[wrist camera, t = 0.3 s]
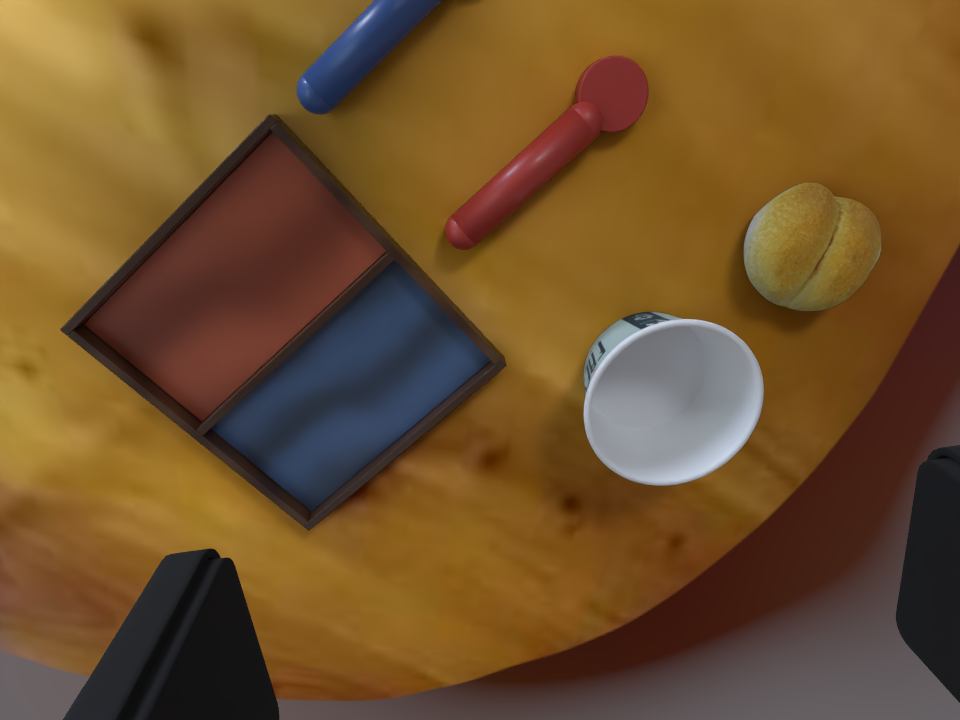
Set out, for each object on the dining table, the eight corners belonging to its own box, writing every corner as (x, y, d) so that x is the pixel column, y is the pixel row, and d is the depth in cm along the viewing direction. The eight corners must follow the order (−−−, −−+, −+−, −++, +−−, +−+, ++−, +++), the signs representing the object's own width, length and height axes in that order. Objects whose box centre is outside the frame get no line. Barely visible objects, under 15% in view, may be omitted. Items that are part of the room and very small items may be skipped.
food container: (723, 427, 50) (764, 470, 44) (573, 453, 50) (593, 500, 44) (721, 279, 45) (766, 305, 39) (556, 308, 45) (575, 338, 39)
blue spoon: (333, 135, 40) (327, 136, 38) (280, 77, 39) (271, 75, 36) (525, -56, 37) (532, -68, 35) (476, -126, 36) (479, -142, 33)
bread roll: (774, 166, 43) (807, 171, 39) (880, 215, 45) (921, 224, 41) (714, 278, 45) (740, 292, 42) (817, 320, 47) (850, 338, 43)
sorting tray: (73, 321, 43) (59, 329, 42) (275, 113, 39) (269, 114, 38) (312, 517, 50) (308, 531, 48) (504, 356, 46) (506, 365, 45)
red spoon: (470, 263, 44) (472, 271, 41) (427, 215, 42) (426, 221, 40) (656, 98, 41) (669, 97, 38) (615, 41, 39) (627, 36, 37)
